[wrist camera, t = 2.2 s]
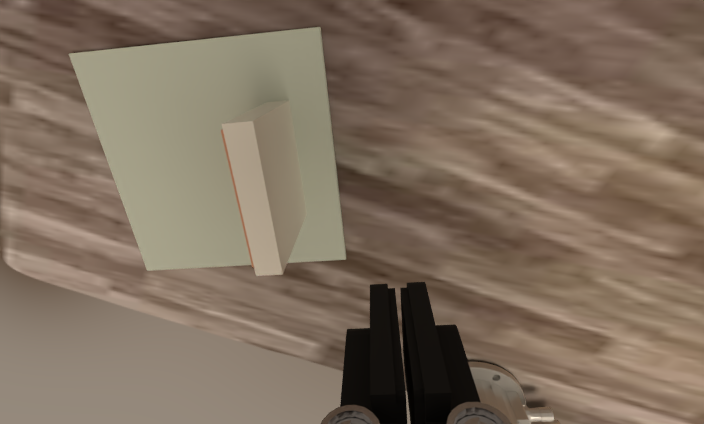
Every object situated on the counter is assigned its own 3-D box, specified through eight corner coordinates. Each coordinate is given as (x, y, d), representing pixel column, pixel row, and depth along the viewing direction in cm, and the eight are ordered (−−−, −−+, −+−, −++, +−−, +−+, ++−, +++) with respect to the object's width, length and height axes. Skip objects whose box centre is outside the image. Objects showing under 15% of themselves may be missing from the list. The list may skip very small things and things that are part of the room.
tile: (289, 100, 30) (252, 121, 20) (306, 213, 33) (282, 274, 24) (263, 102, 30) (216, 124, 21) (284, 215, 34) (251, 276, 24)
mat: (320, 27, 28) (319, 26, 27) (346, 256, 36) (346, 259, 35) (74, 53, 29) (68, 53, 29) (150, 267, 37) (147, 270, 37)
